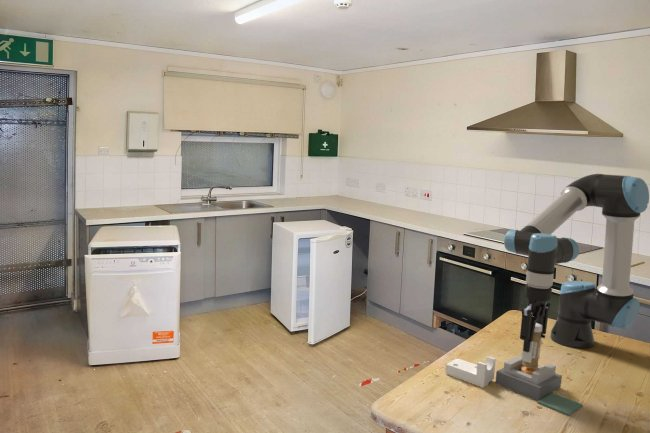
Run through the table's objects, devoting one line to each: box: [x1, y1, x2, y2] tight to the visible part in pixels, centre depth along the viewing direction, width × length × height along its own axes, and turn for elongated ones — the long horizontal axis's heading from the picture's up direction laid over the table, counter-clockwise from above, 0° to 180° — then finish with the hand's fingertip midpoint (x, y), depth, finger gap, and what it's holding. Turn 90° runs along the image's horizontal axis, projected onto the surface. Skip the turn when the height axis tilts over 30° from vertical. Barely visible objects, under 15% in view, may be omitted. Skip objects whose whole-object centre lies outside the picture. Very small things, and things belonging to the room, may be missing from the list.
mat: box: [537, 392, 584, 417], centre depth 156 cm, size 9×9×1 cm
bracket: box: [445, 356, 497, 389], centre depth 171 cm, size 13×7×8 cm, turn 48°
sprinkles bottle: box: [522, 323, 542, 369], centre depth 165 cm, size 5×5×14 cm
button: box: [521, 366, 538, 375], centre depth 167 cm, size 5×5×3 cm
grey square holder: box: [495, 354, 563, 402], centre depth 167 cm, size 14×14×7 cm
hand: (530, 359), depth 166 cm, fingers closed on sprinkles bottle, 4 cm apart
